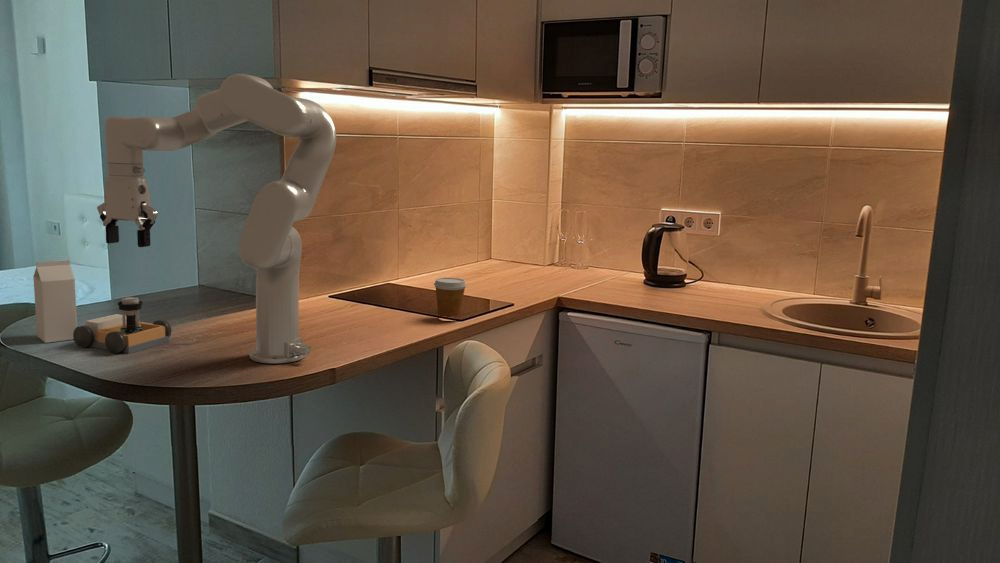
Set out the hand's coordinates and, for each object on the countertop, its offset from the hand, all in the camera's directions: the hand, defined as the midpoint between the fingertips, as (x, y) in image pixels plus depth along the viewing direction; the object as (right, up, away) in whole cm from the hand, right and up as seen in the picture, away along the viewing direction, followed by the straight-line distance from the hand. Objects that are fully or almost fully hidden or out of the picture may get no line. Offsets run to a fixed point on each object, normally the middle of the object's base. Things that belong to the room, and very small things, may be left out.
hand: (128, 244), depth 176 cm
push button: (0, -23, +4) cm, 23 cm away
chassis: (-4, -24, +5) cm, 24 cm away
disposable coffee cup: (+72, -20, +47) cm, 88 cm away
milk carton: (-20, -23, +6) cm, 31 cm away
